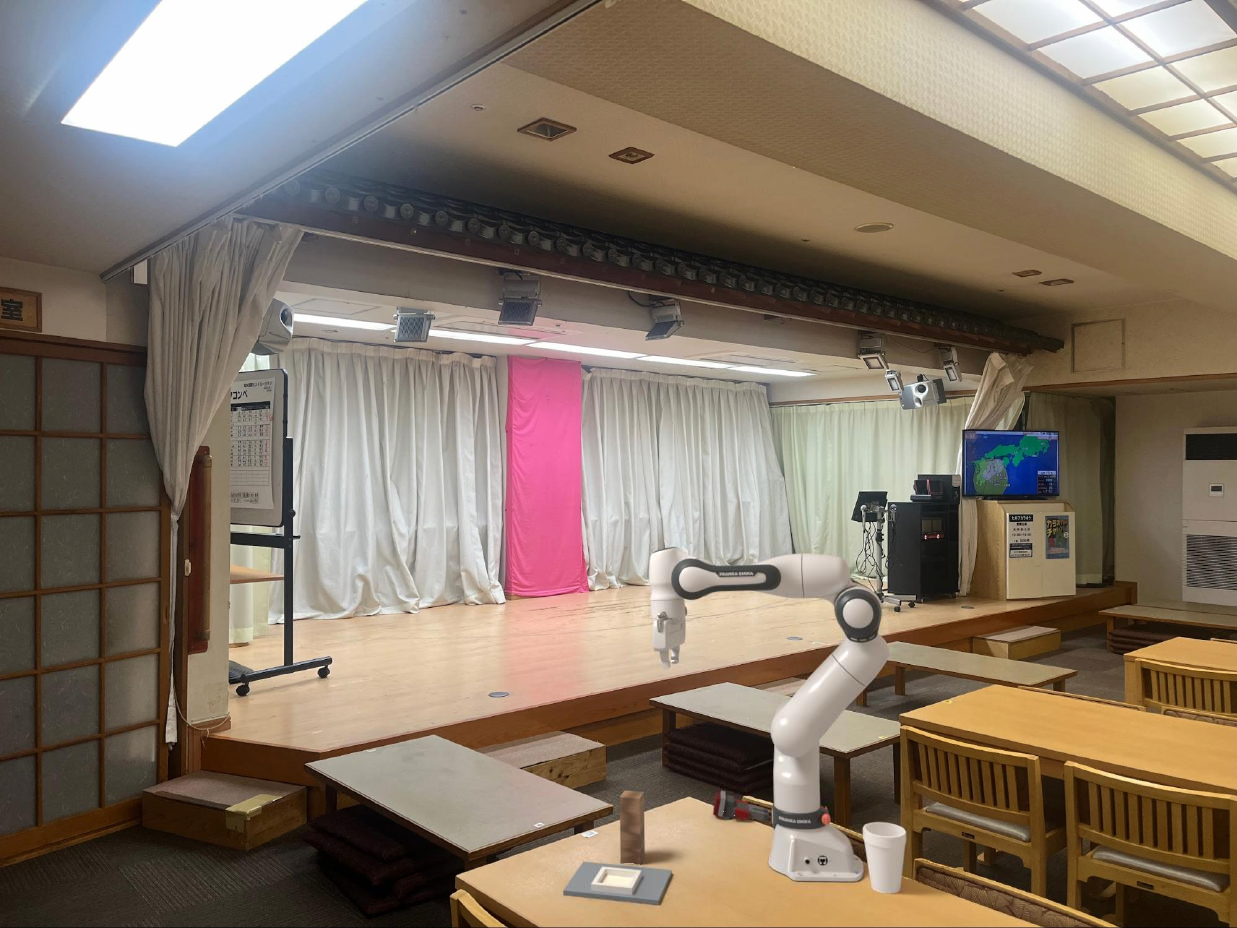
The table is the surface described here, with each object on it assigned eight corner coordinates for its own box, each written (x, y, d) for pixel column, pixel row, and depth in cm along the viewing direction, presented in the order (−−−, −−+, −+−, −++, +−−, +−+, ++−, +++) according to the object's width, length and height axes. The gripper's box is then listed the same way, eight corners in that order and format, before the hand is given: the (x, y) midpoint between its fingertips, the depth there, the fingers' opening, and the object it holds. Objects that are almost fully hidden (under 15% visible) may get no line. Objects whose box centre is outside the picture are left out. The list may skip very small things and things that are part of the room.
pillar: (644, 856, 214) (643, 791, 215) (640, 864, 209) (639, 798, 210) (625, 854, 215) (624, 790, 216) (620, 863, 211) (619, 797, 211)
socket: (641, 876, 200) (641, 870, 200) (632, 894, 191) (631, 888, 191) (602, 872, 203) (602, 866, 203) (591, 890, 193) (591, 883, 194)
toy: (764, 821, 244) (712, 809, 246) (768, 799, 244) (716, 788, 246) (766, 833, 235) (712, 820, 237) (770, 810, 235) (716, 798, 237)
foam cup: (864, 893, 193) (863, 835, 193) (863, 876, 201) (862, 820, 202) (908, 898, 190) (907, 839, 191) (906, 880, 199) (904, 824, 200)
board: (671, 874, 204) (671, 869, 204) (658, 904, 188) (658, 900, 188) (583, 865, 209) (583, 861, 209) (563, 894, 194) (563, 890, 194)
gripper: (670, 613, 209) (673, 671, 207) (688, 607, 228) (691, 660, 227) (645, 614, 211) (648, 671, 209) (665, 608, 230) (668, 661, 228)
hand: (670, 665), depth 218 cm, fingers open, 8 cm apart
